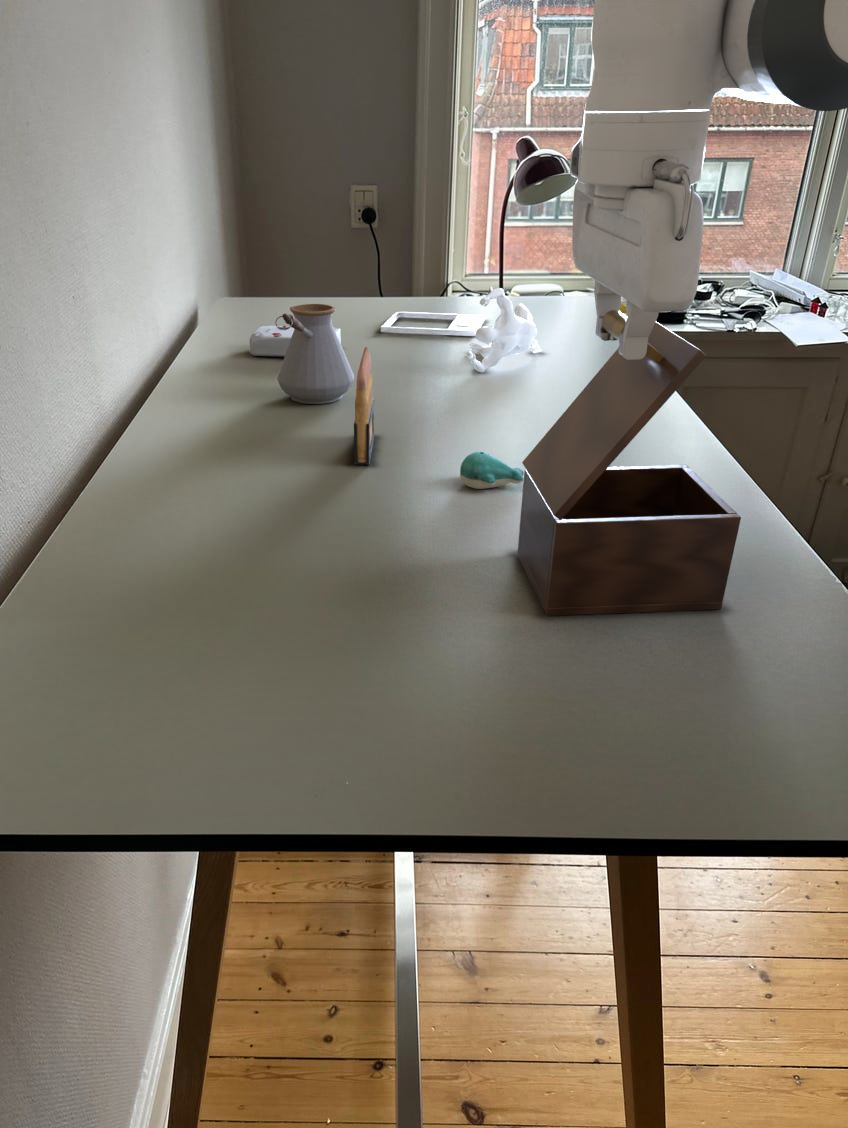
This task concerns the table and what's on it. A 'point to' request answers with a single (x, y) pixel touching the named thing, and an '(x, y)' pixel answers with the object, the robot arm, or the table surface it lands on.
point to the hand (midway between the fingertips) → (618, 347)
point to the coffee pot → (314, 357)
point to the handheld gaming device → (273, 340)
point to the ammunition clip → (364, 412)
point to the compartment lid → (608, 414)
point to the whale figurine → (487, 471)
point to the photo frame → (459, 326)
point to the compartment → (630, 544)
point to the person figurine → (504, 333)
